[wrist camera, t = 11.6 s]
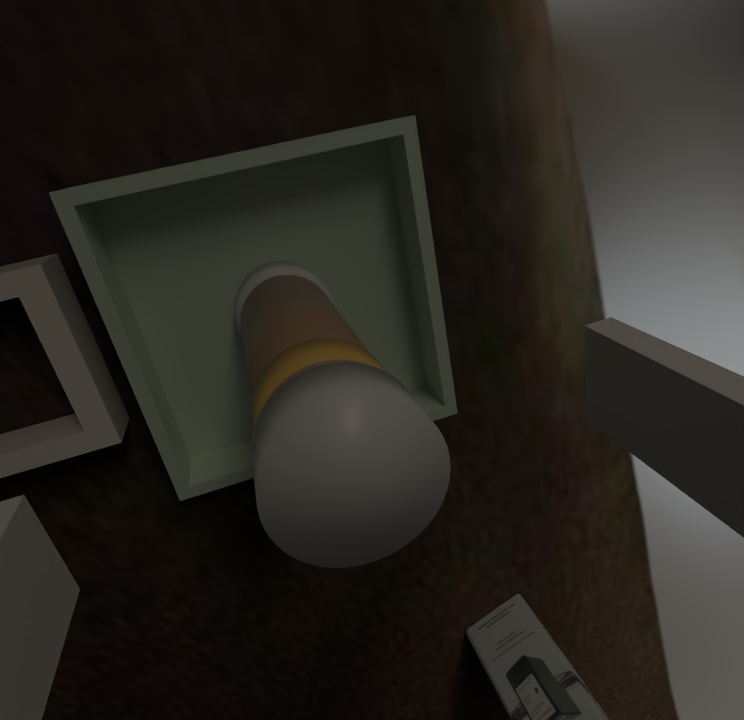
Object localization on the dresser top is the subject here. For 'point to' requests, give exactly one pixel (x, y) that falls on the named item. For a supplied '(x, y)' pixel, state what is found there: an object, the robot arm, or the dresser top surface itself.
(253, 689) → the dresser top surface
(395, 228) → the parts tray
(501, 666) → the ink box
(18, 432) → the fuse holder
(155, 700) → the dresser top surface
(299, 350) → the fuse
